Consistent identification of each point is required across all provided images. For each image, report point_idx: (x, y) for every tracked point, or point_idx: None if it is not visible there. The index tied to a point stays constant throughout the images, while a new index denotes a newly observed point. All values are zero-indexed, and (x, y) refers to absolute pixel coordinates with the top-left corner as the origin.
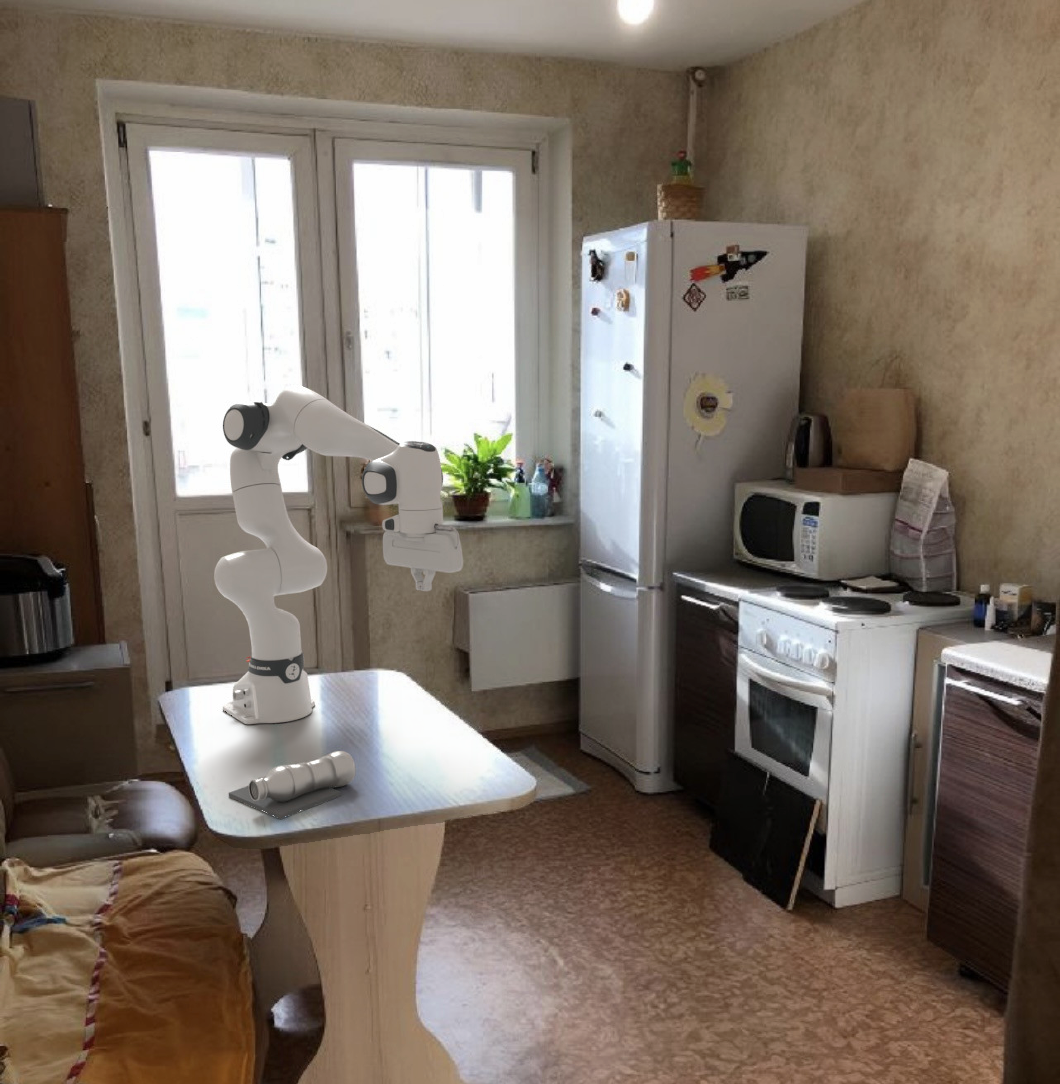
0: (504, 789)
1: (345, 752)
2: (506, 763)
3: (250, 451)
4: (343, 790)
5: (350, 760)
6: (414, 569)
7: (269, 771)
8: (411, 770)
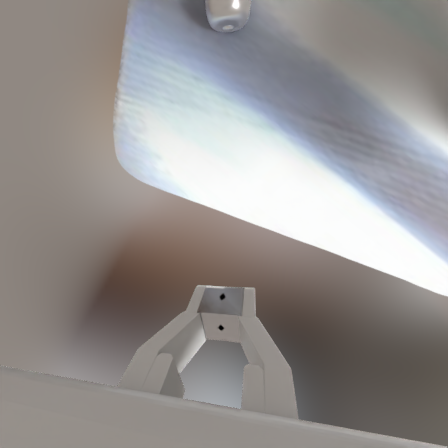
0: (128, 152)
1: (221, 5)
2: (172, 192)
3: None
4: None
5: (209, 9)
6: (250, 397)
7: None
8: (212, 120)
